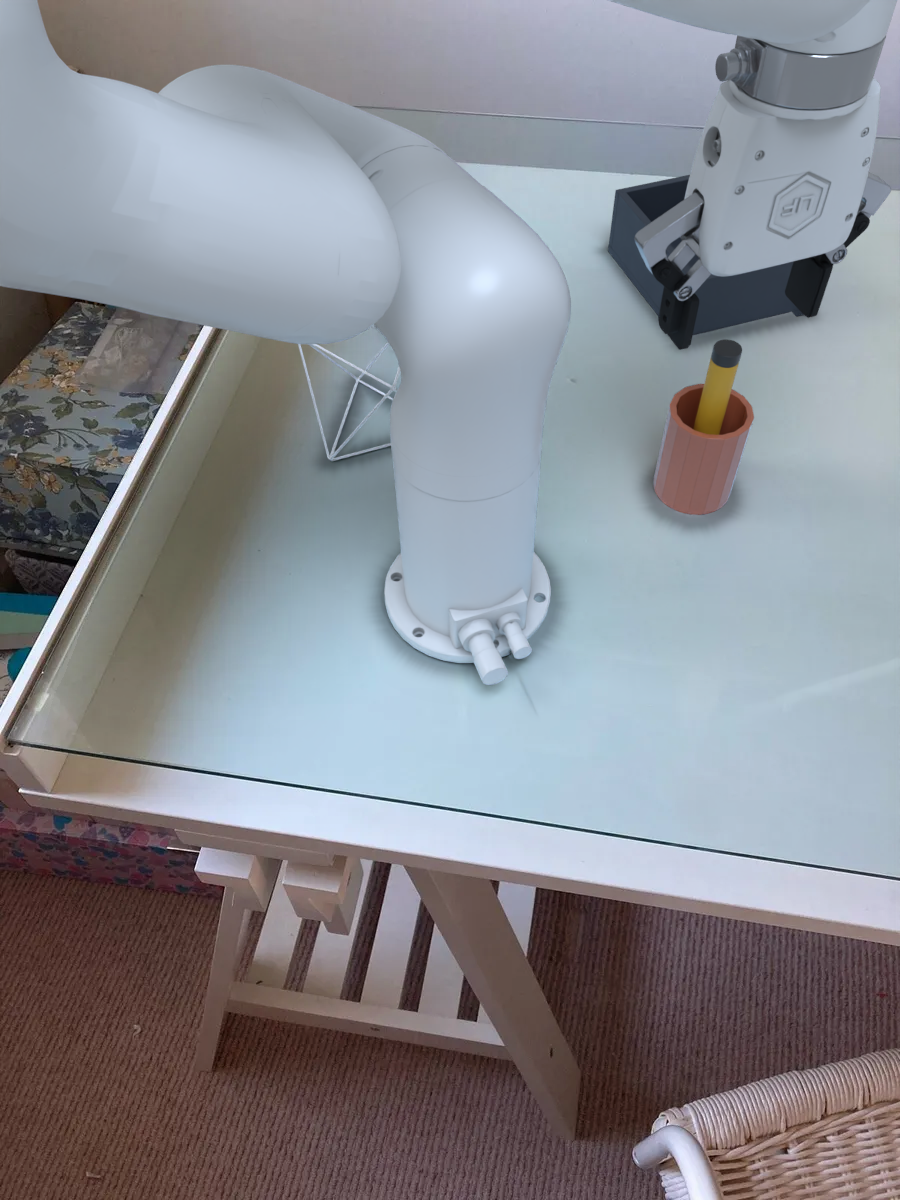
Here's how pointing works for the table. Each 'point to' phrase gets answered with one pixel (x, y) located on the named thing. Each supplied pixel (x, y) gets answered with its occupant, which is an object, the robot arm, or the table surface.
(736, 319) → the bin
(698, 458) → the pencil cup
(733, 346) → the pencil
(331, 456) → the geometric polyhedron
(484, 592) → the robot arm
